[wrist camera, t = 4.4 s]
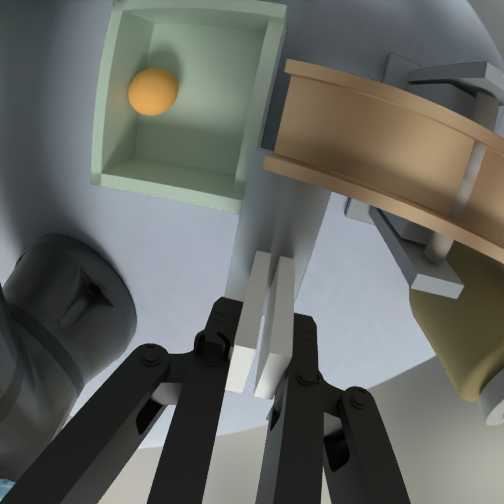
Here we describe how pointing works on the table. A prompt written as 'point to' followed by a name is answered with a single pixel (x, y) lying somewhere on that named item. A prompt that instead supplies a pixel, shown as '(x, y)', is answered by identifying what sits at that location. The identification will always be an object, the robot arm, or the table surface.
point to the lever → (369, 170)
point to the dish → (187, 97)
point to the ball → (153, 91)
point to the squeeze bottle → (469, 329)
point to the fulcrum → (459, 101)
